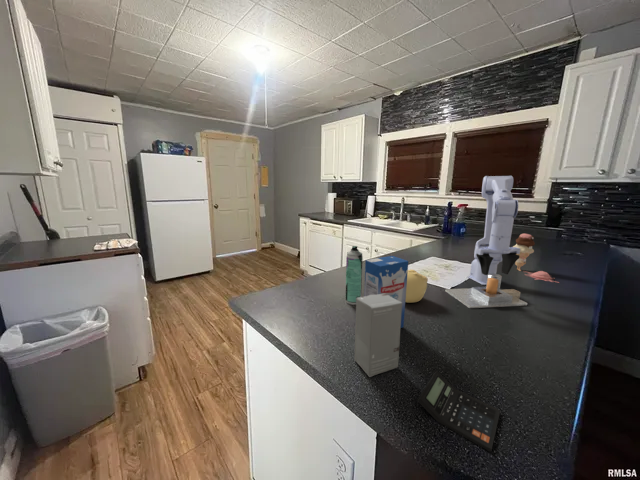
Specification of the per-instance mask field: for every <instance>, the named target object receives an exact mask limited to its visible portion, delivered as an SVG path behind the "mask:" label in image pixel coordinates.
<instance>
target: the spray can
mask: <svg viewBox="0 0 640 480" xmlns="http://www.w3.org/2000/svg"><path fill="white" fill-rule="evenodd" d="M345 257H346V261H345V262H346V264H345V266H346V268H345V303H346V304H348V305H352V306H353V305H355V306H356V298H358V297H362V286H363V285H362V284H363V283H362V281H363V257H364V256H363V253H362V251H360V250H359V249H358V246H357V245H352V247H351V249H350V250H349V251H348V252H346V256H345Z"/></svg>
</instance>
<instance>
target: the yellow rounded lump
mask: <svg viewBox="0 0 640 480" xmlns="http://www.w3.org/2000/svg"><path fill="white" fill-rule="evenodd" d="M428 280H429V279H428V277H427V276H425V275H423V274H421V273H419V272H417V270H415V269H411V268H410V269H408V274H407V287H406V300H405V303H408V304H409V303H417V302H419V301H421V300H422V299H423V298H424V296H425V293H426V291H427V288H428Z"/></svg>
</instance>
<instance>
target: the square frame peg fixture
mask: <svg viewBox="0 0 640 480" xmlns="http://www.w3.org/2000/svg"><path fill="white" fill-rule="evenodd" d="M471 288H472V291H471V294H473V295H474V296H476V297H478V298H479V299H481V300H482V301H484V302H486V303H487V304H501V303H512V299H520V297H521V291H519V290H516V289H514V288H511V289H506V288H505V289H501V288H500V289H498V288H497V294H491V295H490V294H489V293H487V292H486V286H474V287H473V286H472V287H471Z"/></svg>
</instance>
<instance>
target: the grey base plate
mask: <svg viewBox="0 0 640 480" xmlns="http://www.w3.org/2000/svg"><path fill="white" fill-rule="evenodd" d="M502 277H503V276H502V274H498V273H496V274H494V273H489V274H488V276H487V281H488V278H495V279H498V280H499V282H498V289H500V290H501V283H502ZM485 287H487V283H486V285H485ZM471 291H472V287H471V288H465V287H464V288H446V289H445V292H446V293H447V294H448V295H450V296H451V297H452V298H454V299H456V300H457V301H459V302H460V303H462V304H463V305H464V306H466V307H467V308H469V309H479V308H480V309H481V308H483V309H485V308H499V307H502V308H503V307H519V306H520V307H521V306H527V305H528V302H526V301H524V300H522V299H520V298H519V299H512V303H501V304H487V303H486V302H484V301H482V300H481V299H479V298H478V297H476V296H474V295H473V294H471Z"/></svg>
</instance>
